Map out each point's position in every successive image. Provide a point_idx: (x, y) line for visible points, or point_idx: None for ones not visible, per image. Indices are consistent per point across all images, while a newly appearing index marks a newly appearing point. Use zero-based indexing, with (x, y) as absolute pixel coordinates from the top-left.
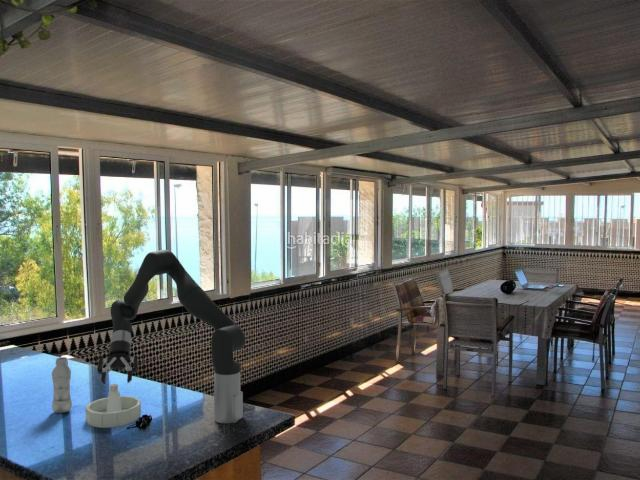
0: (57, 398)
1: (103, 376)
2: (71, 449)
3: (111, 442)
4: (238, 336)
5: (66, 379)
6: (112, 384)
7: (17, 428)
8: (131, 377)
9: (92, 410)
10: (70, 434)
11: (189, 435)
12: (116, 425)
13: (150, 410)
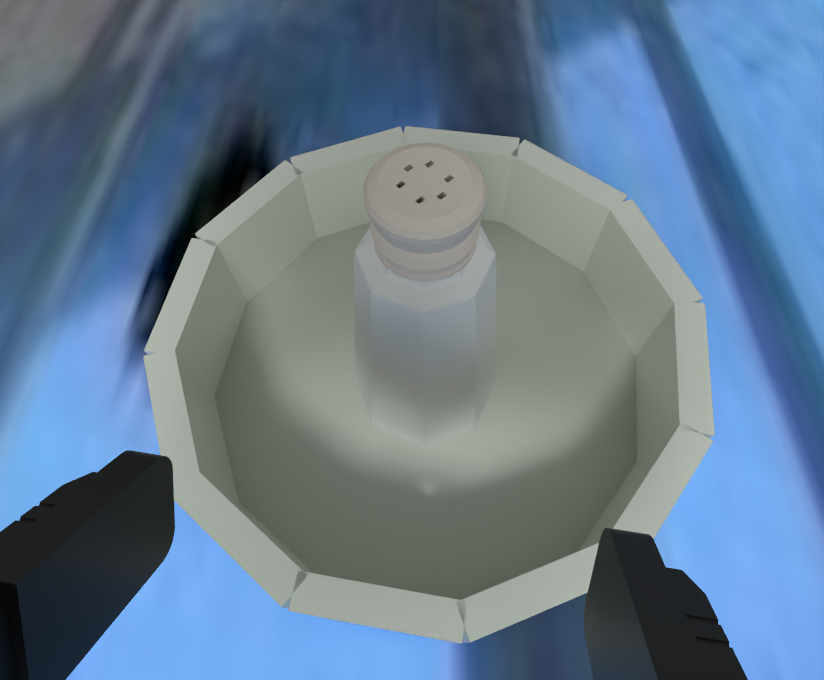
0: None
1: (682, 613)
2: (639, 22)
3: (442, 37)
4: None
5: None
6: (446, 203)
7: None
8: (51, 500)
9: (640, 464)
10: (706, 188)
11: (51, 9)
12: None
13: (93, 471)
